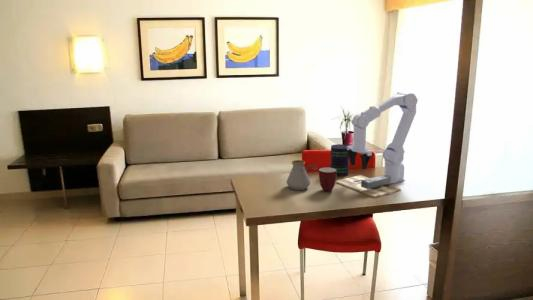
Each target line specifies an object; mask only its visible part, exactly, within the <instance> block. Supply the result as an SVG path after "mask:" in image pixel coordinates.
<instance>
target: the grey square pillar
mask: <svg viewBox="0 0 533 300" xmlns="http://www.w3.org/2000/svg"><path fill="white" fill-rule="evenodd" d="M369 178H370V179H366V180H361V187H363V188H366V189H370V188H374V187H378V186H382V185H385V186H390V185H391V184H392V183H391V176H390V175H384V174H383V175H379V176H374V177H369ZM391 186H392V185H391Z"/></svg>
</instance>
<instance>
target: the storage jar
mask: <svg viewBox="0 0 533 300" xmlns="http://www.w3.org/2000/svg"><path fill="white" fill-rule="evenodd" d="M347 146H349V145H347V144H342V143H341V144H331V145H330V164H329V165H330V167H329V168H334V169H336V170H337V175H336V177H346V176H349V173H350V171H349V170H350V164H349V163H350V160H349V157H348V155H347V151H349V150H347Z"/></svg>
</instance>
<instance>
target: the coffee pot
mask: <svg viewBox="0 0 533 300" xmlns="http://www.w3.org/2000/svg"><path fill="white" fill-rule="evenodd" d="M291 164H292V167H291V171H290V173H289V175H288V177H287V179H286V184H287V186H288V187H289V188H290V189H291V190H294V191H304V190H306V189H307V188H308V187H309V186H310V185H311V180H310V177H309V175H308V173H307V170H310V169H313V170H314V171H315V170H317V169H318V166H317V165H316V164H311V165H308V166H306V167H305V164H306V161H305V160H300V159H298V160H297V159H296V160H292V161H291ZM318 170H319V169H318Z"/></svg>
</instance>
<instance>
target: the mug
mask: <svg viewBox="0 0 533 300" xmlns="http://www.w3.org/2000/svg"><path fill="white" fill-rule="evenodd" d="M336 175H337V170H336V169H334V168H330V167H321V168H319V169H318V178H319V184H320V187H321V189H322V191H323V192H325V193H327V192H332V191H333V189H334V187H335V184H336V181H337V180H336V179H337V176H336Z"/></svg>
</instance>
